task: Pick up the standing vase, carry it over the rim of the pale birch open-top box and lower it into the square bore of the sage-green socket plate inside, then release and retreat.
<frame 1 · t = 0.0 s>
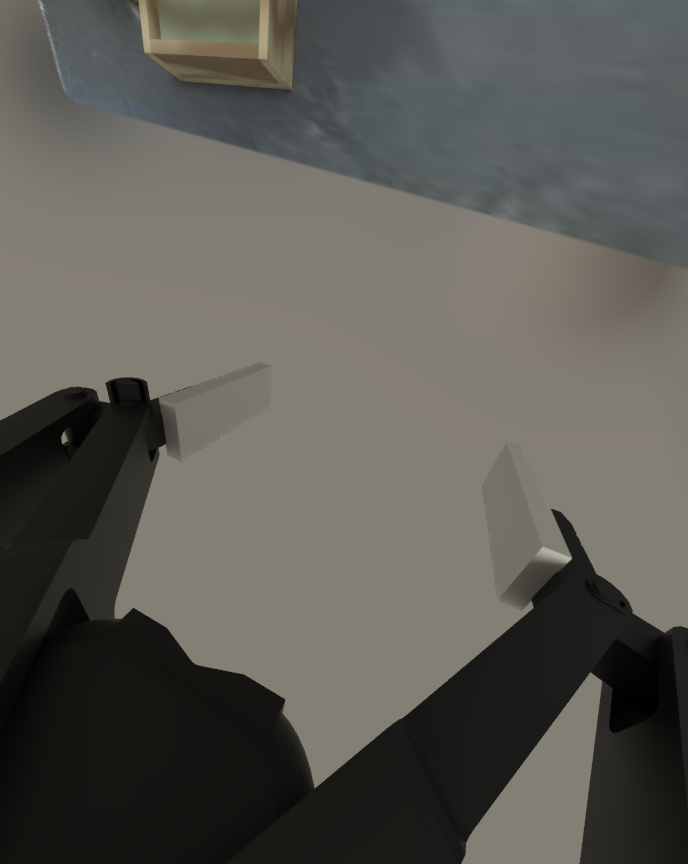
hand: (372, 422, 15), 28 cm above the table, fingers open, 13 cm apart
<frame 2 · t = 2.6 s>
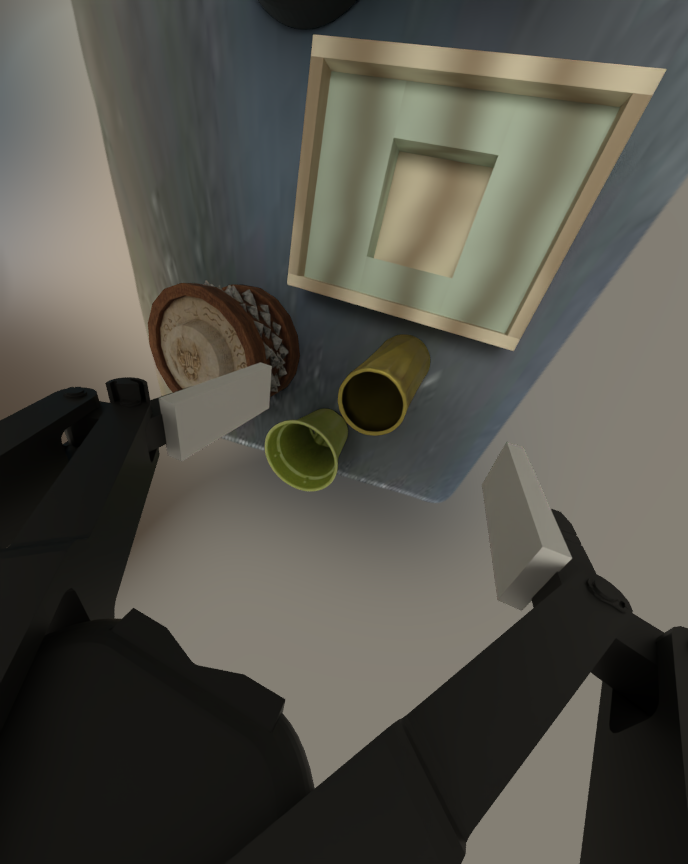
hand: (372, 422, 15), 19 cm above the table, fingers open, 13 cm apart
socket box: (428, 220, 26), on the table
plant pot: (328, 426, 40), on the table
spiked roller: (254, 344, 38), on the table
vase: (403, 361, 32), on the table
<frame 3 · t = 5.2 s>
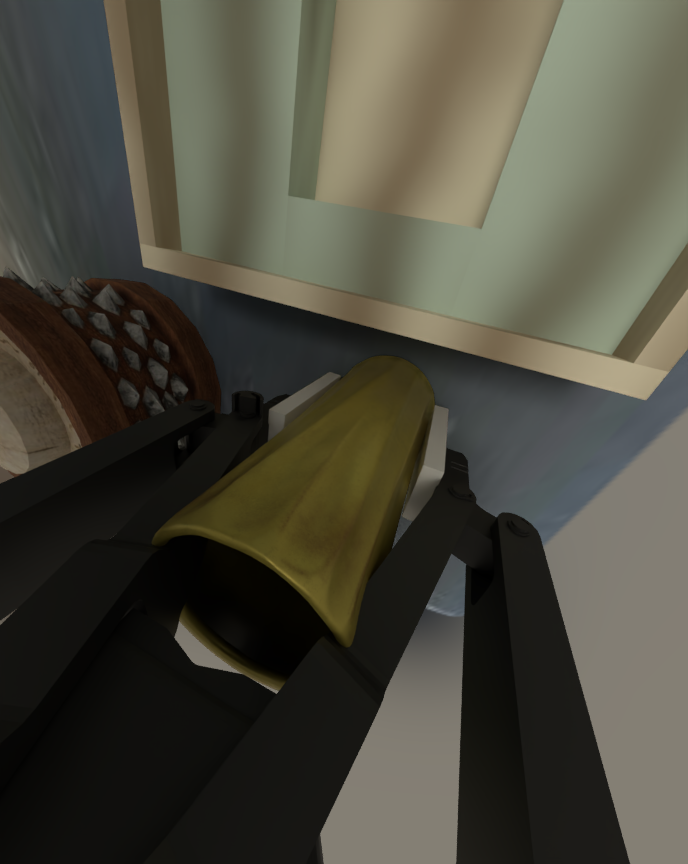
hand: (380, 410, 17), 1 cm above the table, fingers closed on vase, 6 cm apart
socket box: (420, 115, 12), on the table
spiked roller: (156, 372, 24), on the table
vase: (386, 401, 18), on the table, touching gripper
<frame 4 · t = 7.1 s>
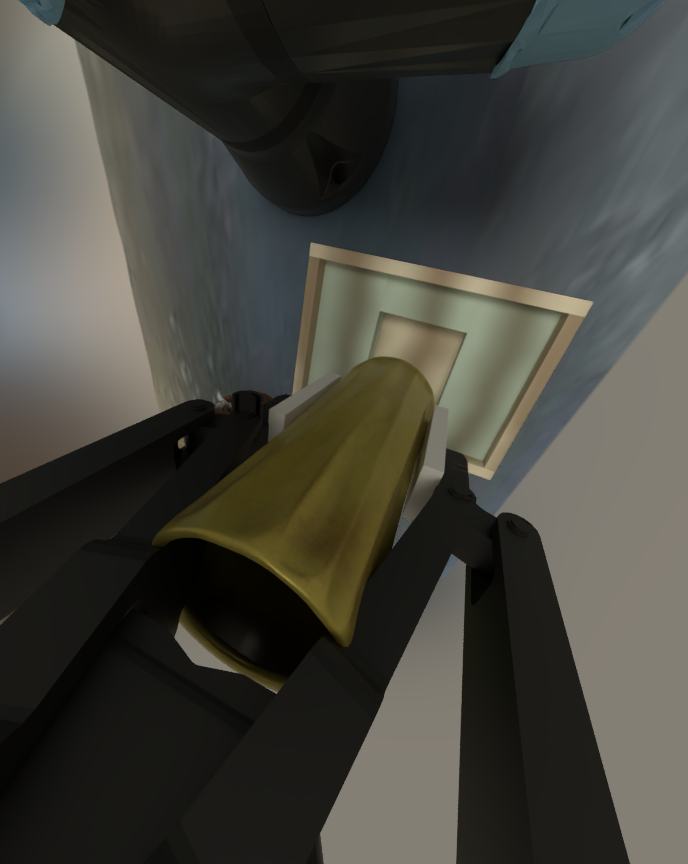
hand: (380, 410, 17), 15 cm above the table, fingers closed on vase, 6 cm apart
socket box: (412, 359, 30), on the table
spiked roller: (260, 436, 42), on the table
vase: (386, 402, 18), point 14 cm above the table, touching gripper
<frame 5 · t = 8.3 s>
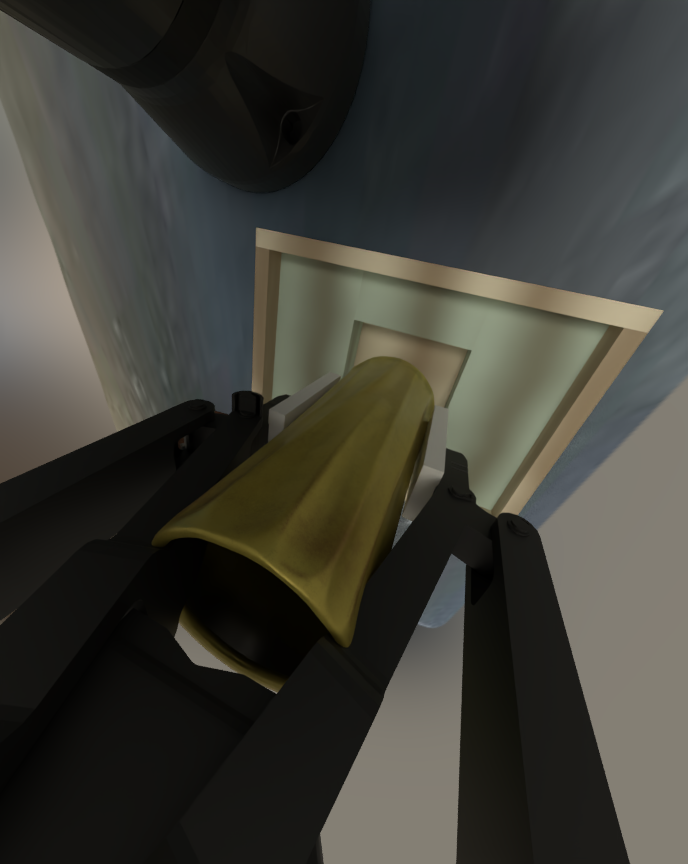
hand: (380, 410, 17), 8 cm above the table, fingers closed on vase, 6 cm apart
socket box: (401, 378, 23), on the table
vase: (386, 402, 18), point 6 cm above the table, touching gripper
when the fingers open (4 cm above the table, at t = 9.4 s): vase drops 2 cm, resting on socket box.
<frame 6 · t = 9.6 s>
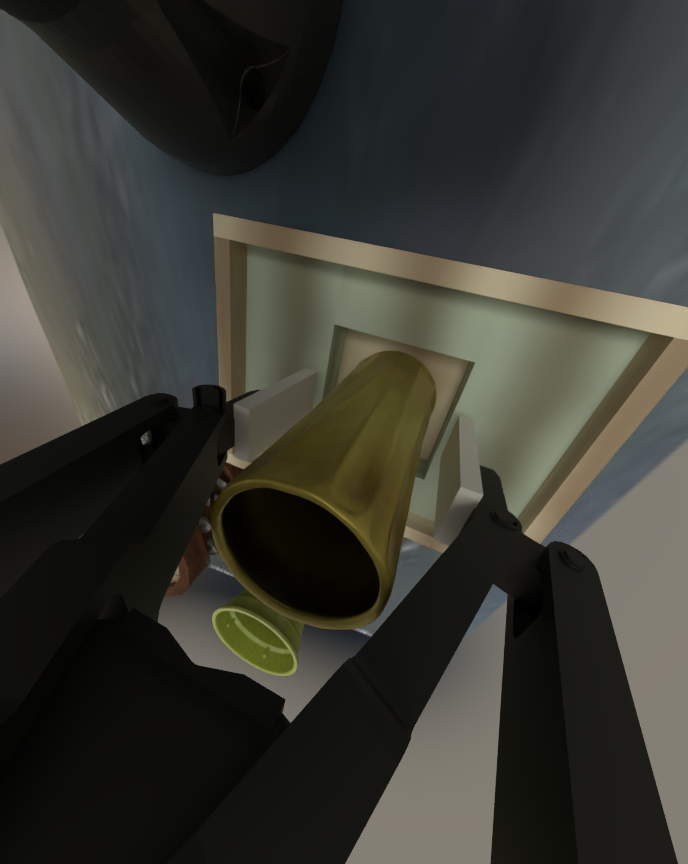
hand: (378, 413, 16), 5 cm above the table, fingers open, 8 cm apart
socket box: (393, 390, 20), on the table
plant pot: (297, 566, 34), on the table
spiked roller: (206, 477, 33), on the table
vase: (391, 394, 19), point 1 cm above the table, touching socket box
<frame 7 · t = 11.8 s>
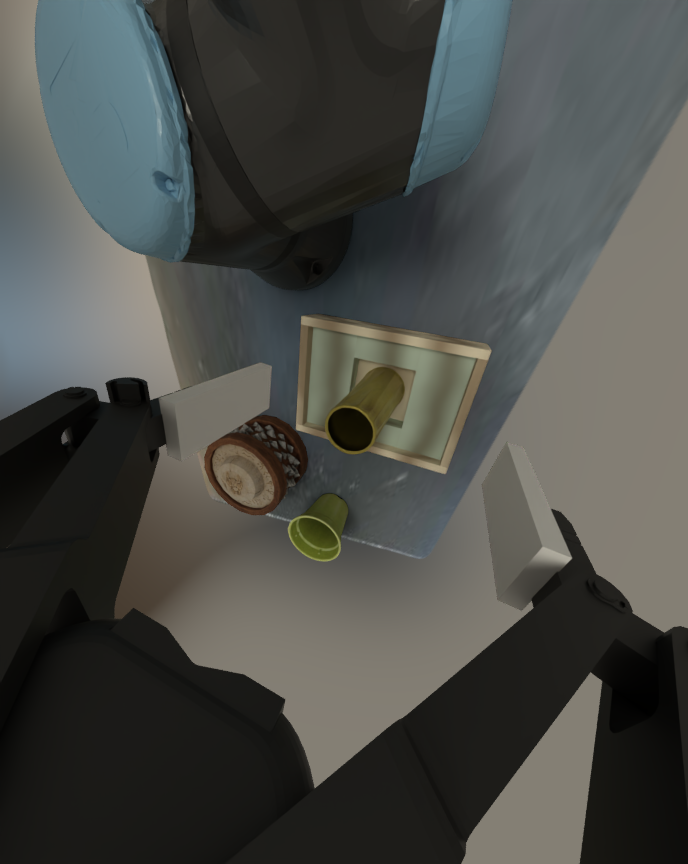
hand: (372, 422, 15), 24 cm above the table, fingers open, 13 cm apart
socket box: (384, 386, 39), on the table
plant pot: (333, 505, 53), on the table
spiked roller: (274, 450, 52), on the table
vase: (383, 388, 39), point 1 cm above the table, touching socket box
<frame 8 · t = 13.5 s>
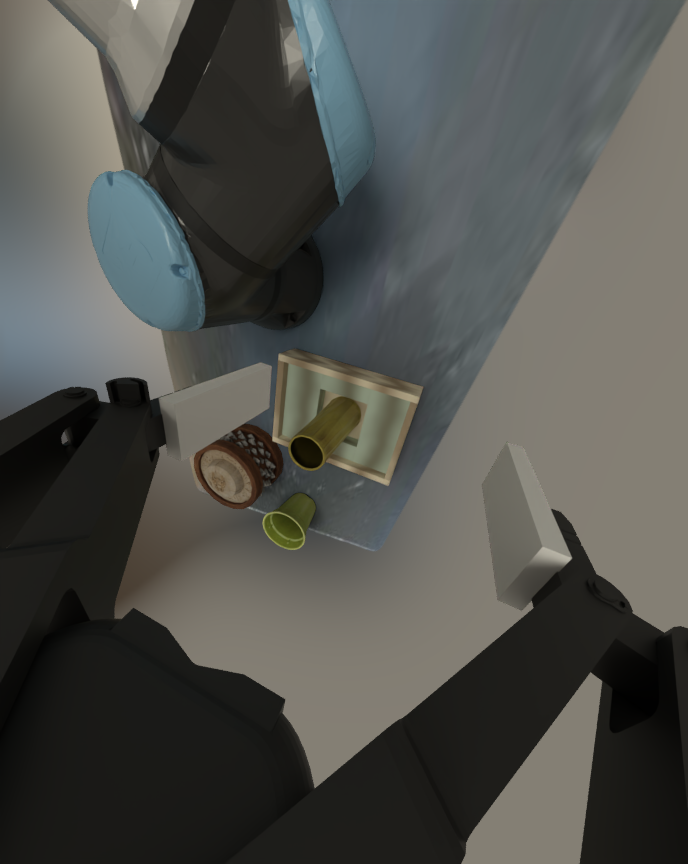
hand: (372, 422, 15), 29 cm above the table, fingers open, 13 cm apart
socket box: (346, 411, 48), on the table
plant pot: (304, 502, 62), on the table
spiked roller: (255, 453, 61), on the table
vase: (344, 412, 48), point 1 cm above the table, touching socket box
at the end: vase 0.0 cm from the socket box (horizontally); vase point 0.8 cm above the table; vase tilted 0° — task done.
